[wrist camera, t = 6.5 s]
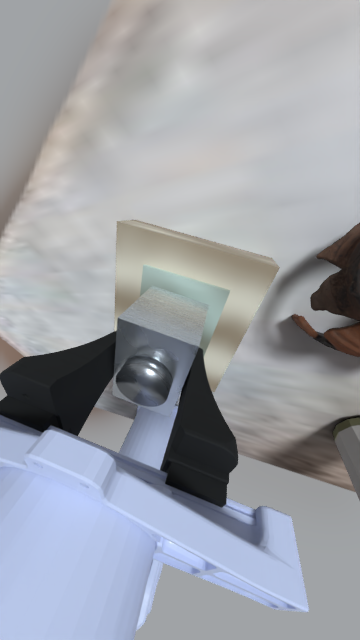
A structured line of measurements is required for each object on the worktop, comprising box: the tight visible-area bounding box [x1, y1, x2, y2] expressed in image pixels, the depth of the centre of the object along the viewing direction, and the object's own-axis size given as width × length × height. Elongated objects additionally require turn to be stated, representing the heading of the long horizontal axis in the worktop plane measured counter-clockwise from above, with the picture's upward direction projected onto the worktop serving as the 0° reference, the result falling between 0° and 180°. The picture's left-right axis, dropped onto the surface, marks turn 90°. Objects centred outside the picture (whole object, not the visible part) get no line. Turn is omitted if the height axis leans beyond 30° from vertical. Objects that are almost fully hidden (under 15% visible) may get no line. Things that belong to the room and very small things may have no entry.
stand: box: [114, 220, 280, 392], centre depth 18 cm, size 14×12×3 cm
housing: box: [112, 286, 209, 418], centre depth 13 cm, size 7×4×6 cm, turn 165°
